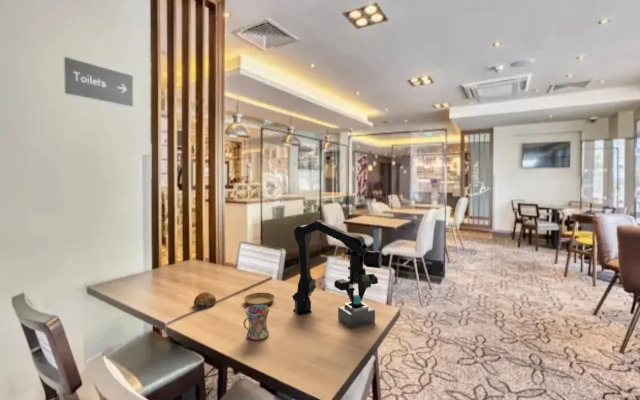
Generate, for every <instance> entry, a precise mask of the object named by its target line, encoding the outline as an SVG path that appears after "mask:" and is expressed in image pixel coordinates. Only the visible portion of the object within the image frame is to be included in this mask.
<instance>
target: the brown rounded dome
mask: <svg viewBox="0 0 640 400" xmlns="http://www.w3.org/2000/svg"><path fill="white" fill-rule="evenodd" d="M216 301H217V299H216V296H215V294H213V293H212V292H211V291H202V292H199V293H198V295H196V296H195V298H194V300H193V305H194V307H195V306H196V307H207V308H210V307H209V306H211V307H213V306H214V305H215V304H216ZM212 305H213V306H212ZM196 307H195V308H196Z"/></svg>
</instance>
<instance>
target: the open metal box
mask: <svg viewBox="0 0 640 400" xmlns="http://www.w3.org/2000/svg"><path fill="white" fill-rule="evenodd" d="M337 307H338V308H337V312H338V313H337V314H338V316H337V319H338V321H340V322H341V323H342V324H343V325H345V326H346V327H348V328H349V329H350V330H353V329H355V328H360V327H364V326H368V325H371V324H374V323H375V322H376V309H375V308H373V307H371V306H370V305H368V304H366V303H364V302H363V301H361V302H360V304H358V305H355V304H353V303H352V302H351V301H349V302H346V303H344V305H340V306H337Z"/></svg>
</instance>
